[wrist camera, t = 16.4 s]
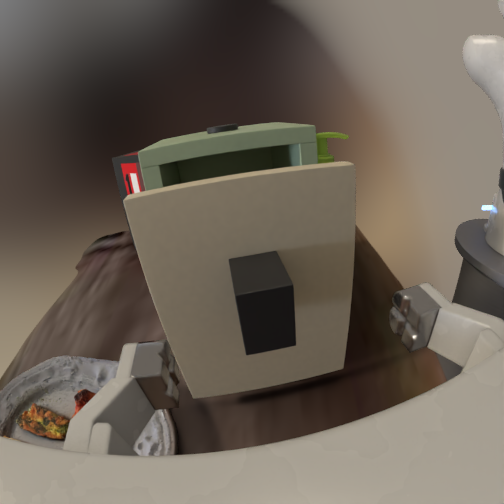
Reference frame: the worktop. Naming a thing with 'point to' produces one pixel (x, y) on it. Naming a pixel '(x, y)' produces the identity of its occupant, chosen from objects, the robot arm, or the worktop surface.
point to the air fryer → (227, 152)
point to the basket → (251, 273)
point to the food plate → (70, 405)
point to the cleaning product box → (128, 177)
